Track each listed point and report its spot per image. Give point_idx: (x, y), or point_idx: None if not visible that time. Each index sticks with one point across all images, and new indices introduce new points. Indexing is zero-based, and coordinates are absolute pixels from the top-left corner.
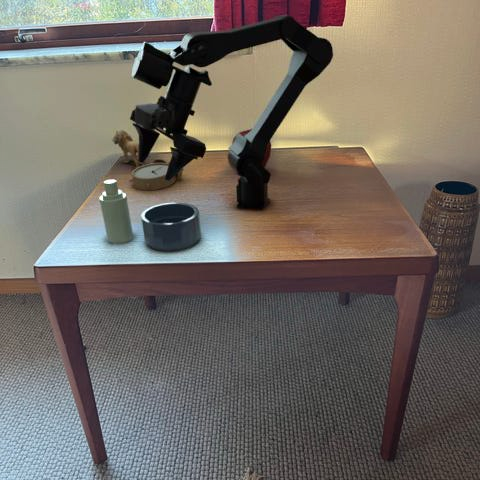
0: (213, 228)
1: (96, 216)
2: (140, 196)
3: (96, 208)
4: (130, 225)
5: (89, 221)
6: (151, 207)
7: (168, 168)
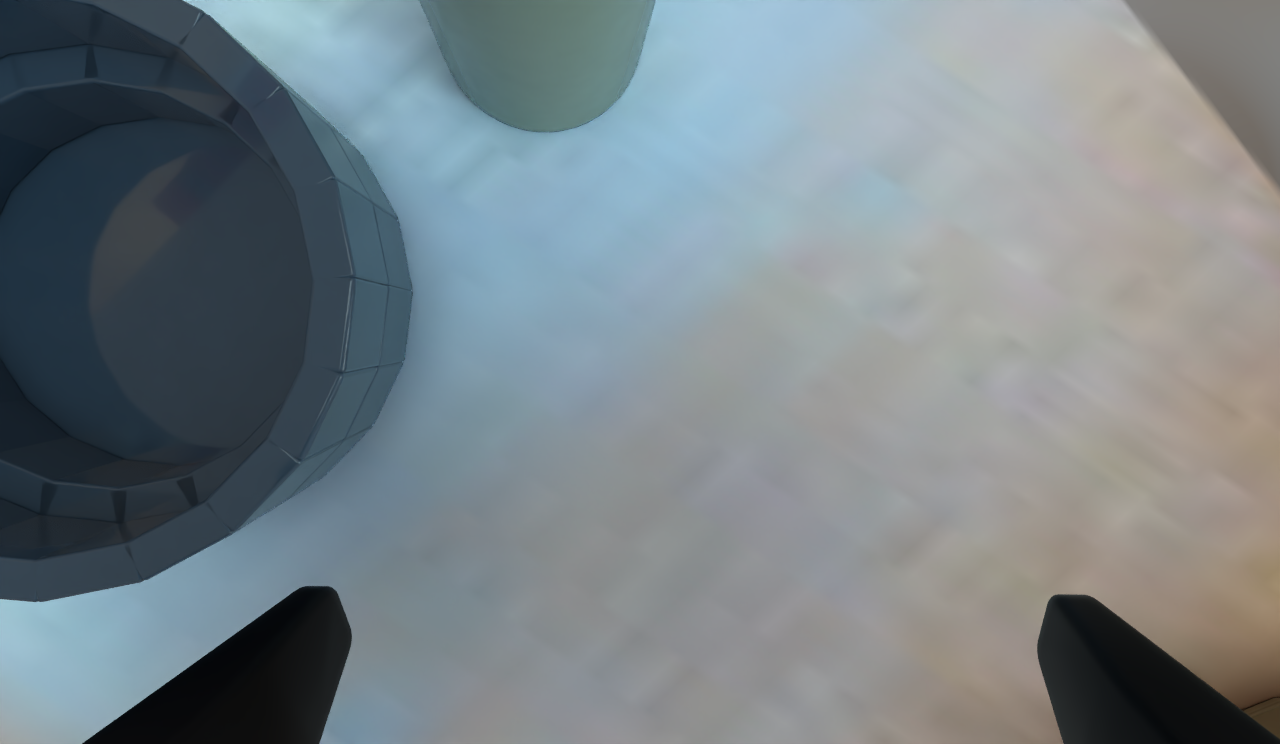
0: (142, 659)
1: (1056, 143)
2: (1141, 618)
3: (1194, 232)
4: (447, 50)
5: (1012, 49)
6: (329, 238)
7: (160, 729)
